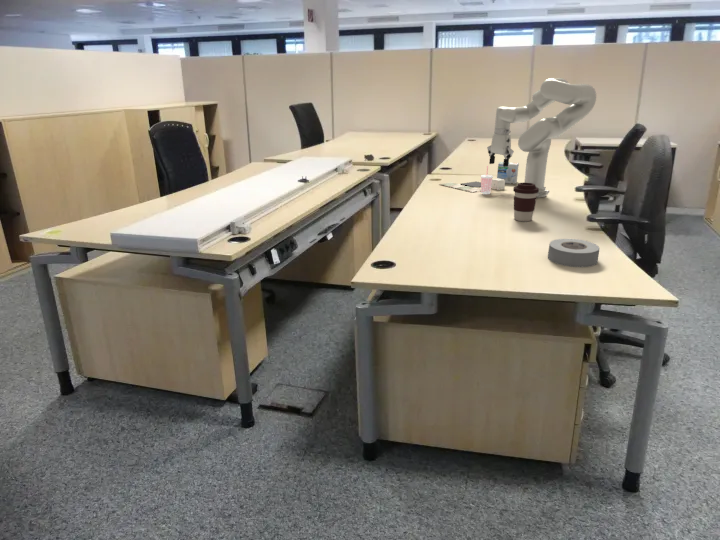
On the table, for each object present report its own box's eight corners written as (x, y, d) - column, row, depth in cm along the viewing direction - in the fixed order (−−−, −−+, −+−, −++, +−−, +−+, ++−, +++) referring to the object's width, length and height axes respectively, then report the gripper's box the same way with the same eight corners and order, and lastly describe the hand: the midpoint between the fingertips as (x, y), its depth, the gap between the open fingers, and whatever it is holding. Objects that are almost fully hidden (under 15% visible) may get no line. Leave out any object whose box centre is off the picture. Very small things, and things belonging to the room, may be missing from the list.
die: (504, 189, 284) (505, 179, 282) (497, 190, 281) (498, 180, 280) (497, 187, 288) (498, 178, 286) (490, 188, 285) (491, 179, 284)
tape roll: (587, 271, 165) (589, 255, 163) (539, 260, 174) (541, 245, 172) (604, 259, 175) (606, 244, 174) (558, 249, 185) (560, 235, 183)
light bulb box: (496, 182, 301) (497, 163, 297) (498, 180, 307) (499, 161, 303) (515, 183, 297) (517, 164, 293) (517, 181, 303) (519, 162, 299)
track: (484, 190, 280) (484, 189, 280) (472, 192, 275) (472, 191, 275) (451, 183, 300) (451, 182, 300) (438, 184, 296) (438, 184, 296)
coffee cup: (522, 223, 217) (526, 187, 212) (505, 218, 225) (508, 183, 220) (540, 220, 221) (544, 184, 216) (523, 215, 229) (526, 180, 224)
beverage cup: (489, 192, 277) (491, 164, 272) (493, 194, 271) (495, 166, 266) (478, 192, 276) (480, 165, 272) (481, 194, 271) (483, 166, 266)
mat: (491, 185, 293) (491, 184, 293) (475, 187, 287) (475, 187, 287) (476, 182, 302) (476, 181, 302) (460, 184, 296) (460, 183, 296)
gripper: (520, 133, 270) (516, 166, 276) (494, 129, 283) (491, 162, 289) (509, 133, 266) (506, 168, 272) (484, 130, 280) (481, 163, 286)
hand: (498, 165), depth 281 cm, fingers open, 9 cm apart
